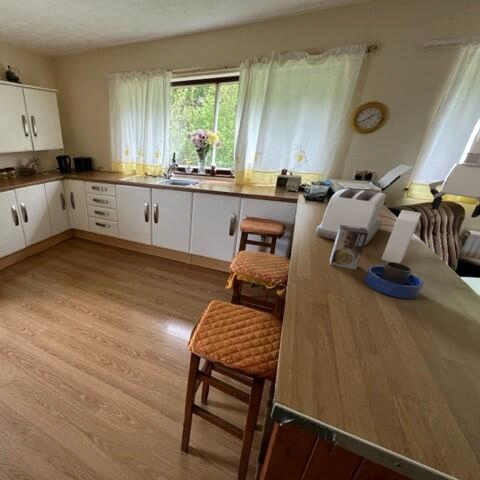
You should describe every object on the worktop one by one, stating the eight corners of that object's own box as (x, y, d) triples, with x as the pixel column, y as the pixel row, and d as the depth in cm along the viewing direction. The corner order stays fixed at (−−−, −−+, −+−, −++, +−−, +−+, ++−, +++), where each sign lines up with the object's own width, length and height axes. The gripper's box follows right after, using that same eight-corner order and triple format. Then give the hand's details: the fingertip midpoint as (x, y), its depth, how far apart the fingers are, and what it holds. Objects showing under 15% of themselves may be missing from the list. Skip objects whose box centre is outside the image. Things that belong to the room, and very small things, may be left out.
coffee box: (354, 264, 107) (367, 228, 101) (356, 270, 102) (369, 233, 95) (329, 258, 111) (339, 224, 105) (329, 264, 106) (340, 228, 100)
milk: (398, 264, 107) (420, 214, 98) (380, 259, 111) (399, 211, 102) (401, 260, 110) (423, 211, 101) (384, 255, 114) (403, 208, 106)
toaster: (381, 227, 150) (394, 189, 141) (364, 248, 121) (381, 203, 112) (336, 218, 165) (346, 183, 156) (312, 235, 136) (323, 194, 128)
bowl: (426, 293, 87) (432, 281, 85) (403, 304, 82) (409, 291, 80) (378, 273, 99) (382, 262, 98) (355, 281, 94) (359, 270, 92)
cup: (407, 289, 89) (416, 269, 86) (396, 293, 86) (405, 273, 83) (384, 279, 94) (392, 260, 91) (373, 283, 92) (381, 264, 89)
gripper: (528, 161, 73) (497, 219, 79) (446, 157, 87) (426, 205, 94) (518, 162, 70) (487, 222, 76) (435, 157, 84) (415, 207, 91)
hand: (453, 212), depth 85 cm, fingers open, 9 cm apart
